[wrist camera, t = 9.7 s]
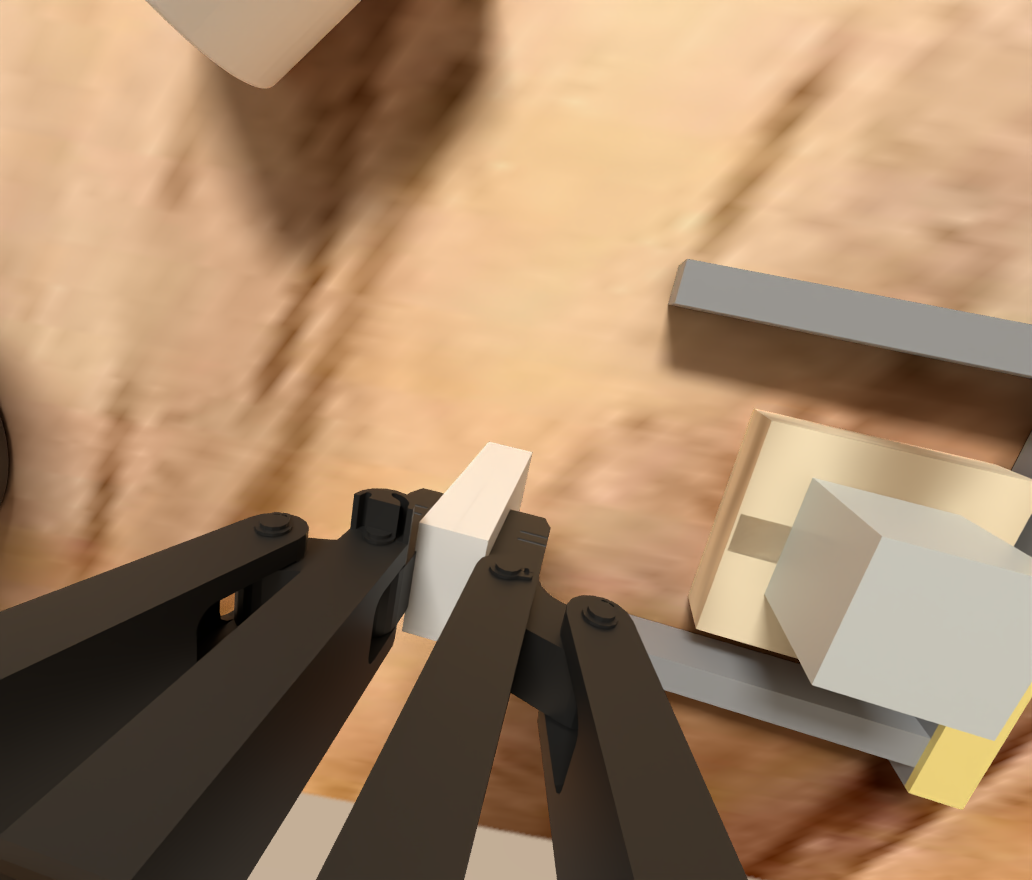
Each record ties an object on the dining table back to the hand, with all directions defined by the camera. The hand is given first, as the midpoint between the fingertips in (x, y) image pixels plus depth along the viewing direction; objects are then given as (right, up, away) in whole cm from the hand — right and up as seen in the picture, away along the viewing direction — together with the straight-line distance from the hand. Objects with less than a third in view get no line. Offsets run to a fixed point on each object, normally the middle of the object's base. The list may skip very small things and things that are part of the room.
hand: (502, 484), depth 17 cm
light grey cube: (+13, -3, +2) cm, 13 cm away
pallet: (+14, -2, +5) cm, 15 cm away
